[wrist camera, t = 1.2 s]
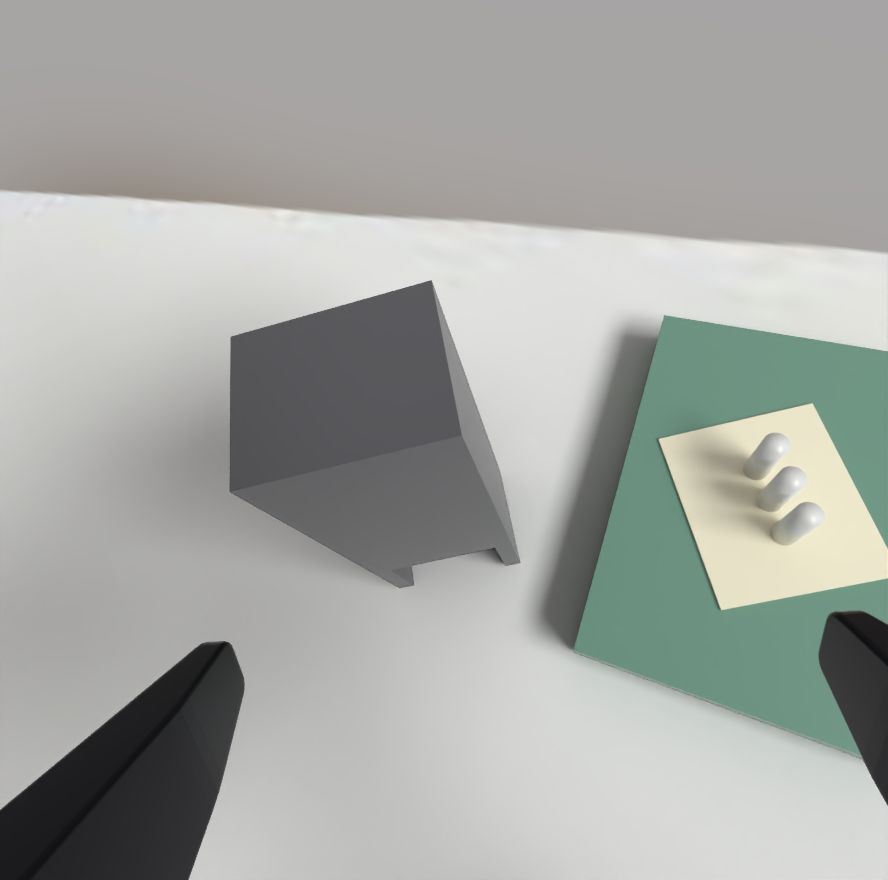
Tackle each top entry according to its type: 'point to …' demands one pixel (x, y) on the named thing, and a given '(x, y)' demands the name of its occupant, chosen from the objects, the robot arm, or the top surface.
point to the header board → (746, 522)
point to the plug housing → (367, 435)
